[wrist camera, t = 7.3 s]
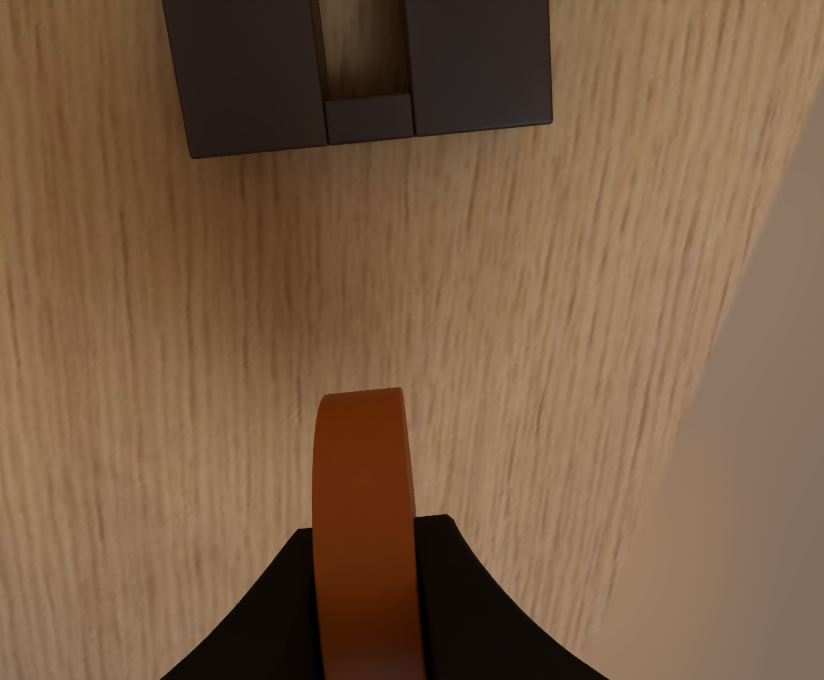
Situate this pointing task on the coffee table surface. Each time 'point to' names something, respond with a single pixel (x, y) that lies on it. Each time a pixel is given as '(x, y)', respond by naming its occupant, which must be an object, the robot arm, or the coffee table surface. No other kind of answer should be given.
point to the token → (366, 539)
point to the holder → (356, 116)
